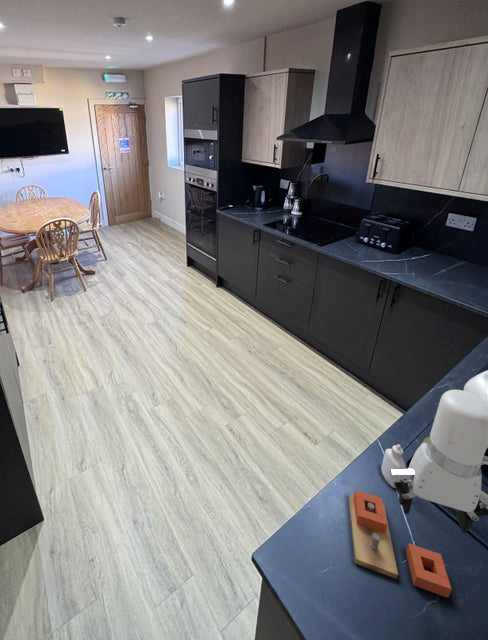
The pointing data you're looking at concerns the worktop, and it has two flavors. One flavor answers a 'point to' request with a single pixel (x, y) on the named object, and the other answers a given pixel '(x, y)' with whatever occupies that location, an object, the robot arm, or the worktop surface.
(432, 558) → the orange square ring block
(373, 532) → the base board
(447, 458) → the robot arm
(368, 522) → the pad
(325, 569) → the worktop surface
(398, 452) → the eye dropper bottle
